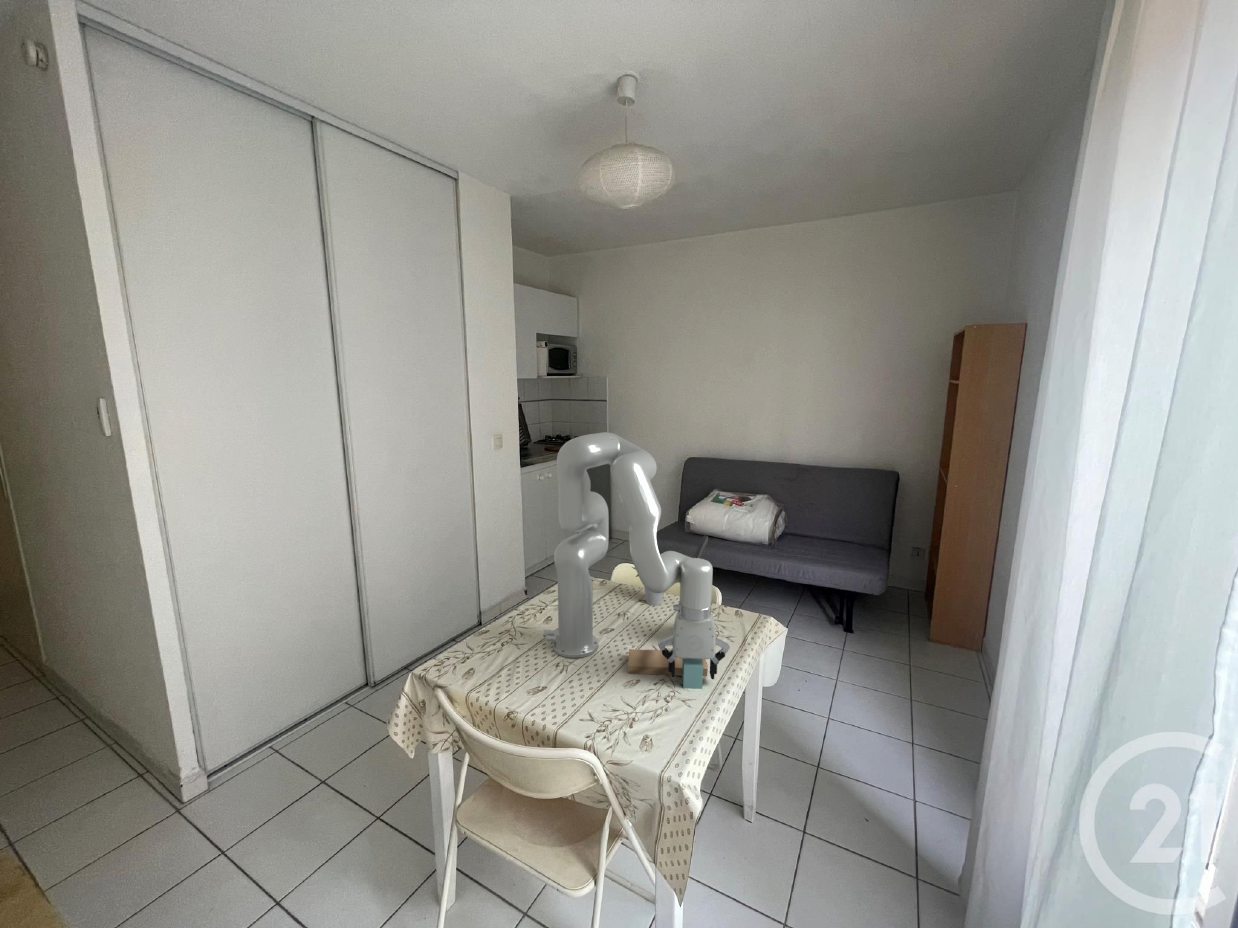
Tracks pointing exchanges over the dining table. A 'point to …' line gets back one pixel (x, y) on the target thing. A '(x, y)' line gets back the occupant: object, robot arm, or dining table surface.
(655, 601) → the house plant
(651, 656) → the board
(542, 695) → the dining table surface
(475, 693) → the dining table surface
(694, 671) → the gauge
